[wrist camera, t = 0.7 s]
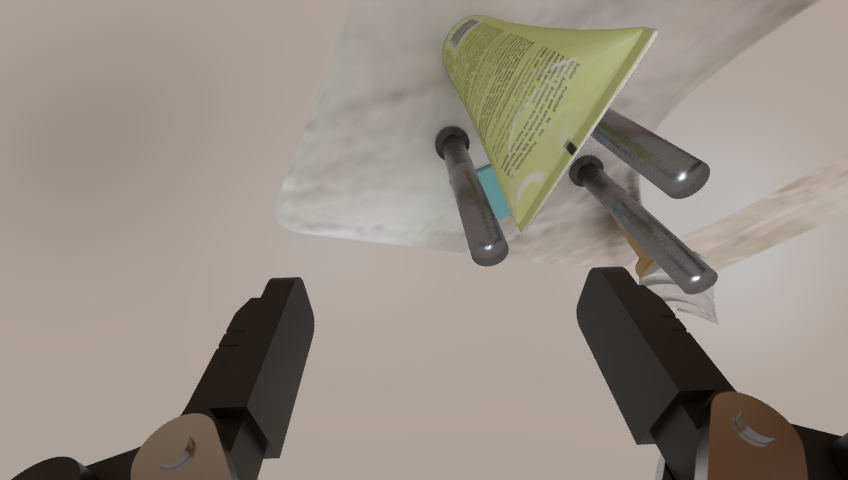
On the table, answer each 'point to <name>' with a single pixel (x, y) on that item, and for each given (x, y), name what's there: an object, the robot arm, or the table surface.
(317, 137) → the table surface
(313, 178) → the table surface
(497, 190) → the pad
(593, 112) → the tube
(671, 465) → the robot arm
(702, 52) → the table surface
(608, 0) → the table surface
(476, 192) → the wire posts
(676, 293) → the ice cream cone
